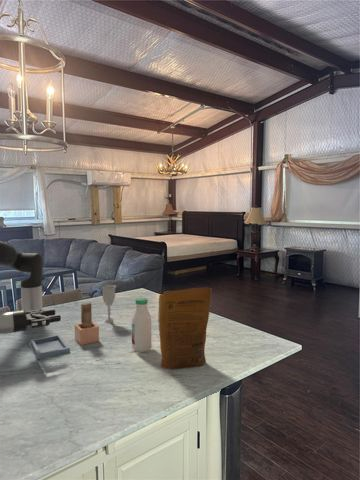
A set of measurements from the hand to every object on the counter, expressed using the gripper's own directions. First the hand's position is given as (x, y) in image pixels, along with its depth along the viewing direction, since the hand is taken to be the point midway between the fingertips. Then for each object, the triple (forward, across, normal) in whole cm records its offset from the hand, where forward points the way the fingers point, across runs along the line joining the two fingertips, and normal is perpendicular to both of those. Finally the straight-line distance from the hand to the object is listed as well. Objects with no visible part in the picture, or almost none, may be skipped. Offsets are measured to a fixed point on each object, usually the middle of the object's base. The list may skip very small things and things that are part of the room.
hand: (57, 314), depth 127 cm
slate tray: (-3, 0, +14) cm, 14 cm away
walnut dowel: (+11, 0, +12) cm, 17 cm away
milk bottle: (+27, -18, +14) cm, 35 cm away
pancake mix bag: (+33, -39, +14) cm, 53 cm away
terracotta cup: (+11, 0, +13) cm, 18 cm away
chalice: (+27, +16, +13) cm, 34 cm away
